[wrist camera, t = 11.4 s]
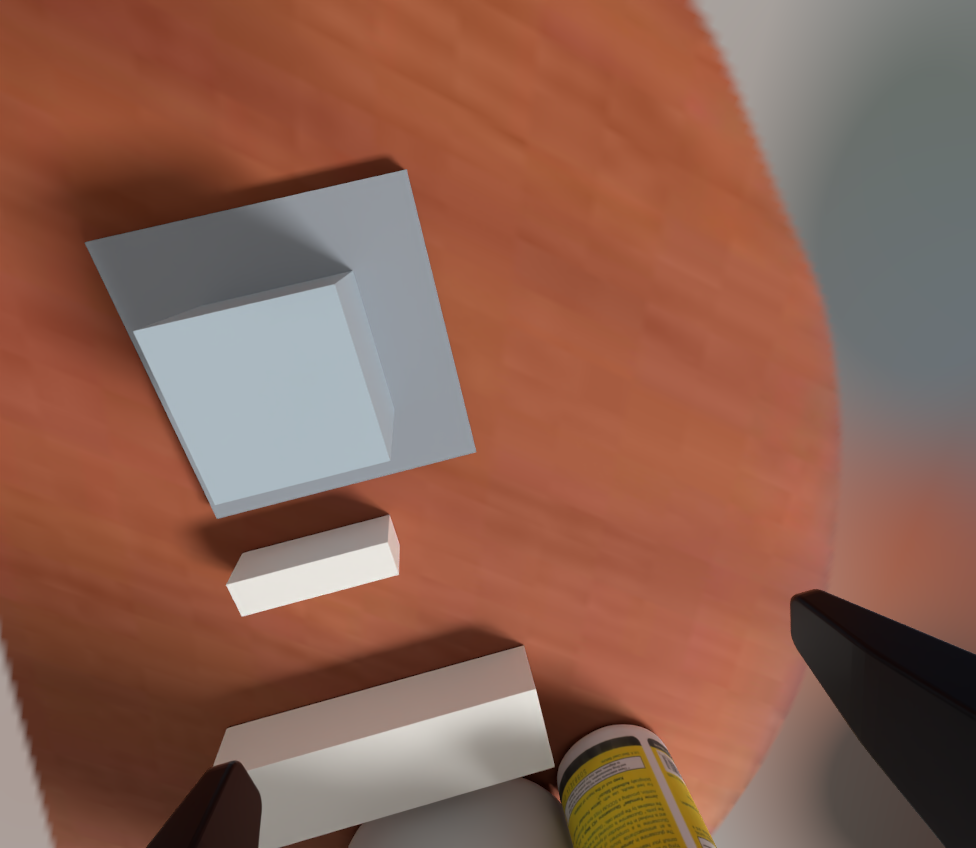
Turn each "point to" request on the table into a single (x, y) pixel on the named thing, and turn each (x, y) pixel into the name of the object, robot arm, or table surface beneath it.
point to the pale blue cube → (274, 386)
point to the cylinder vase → (475, 821)
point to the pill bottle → (627, 793)
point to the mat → (299, 258)
